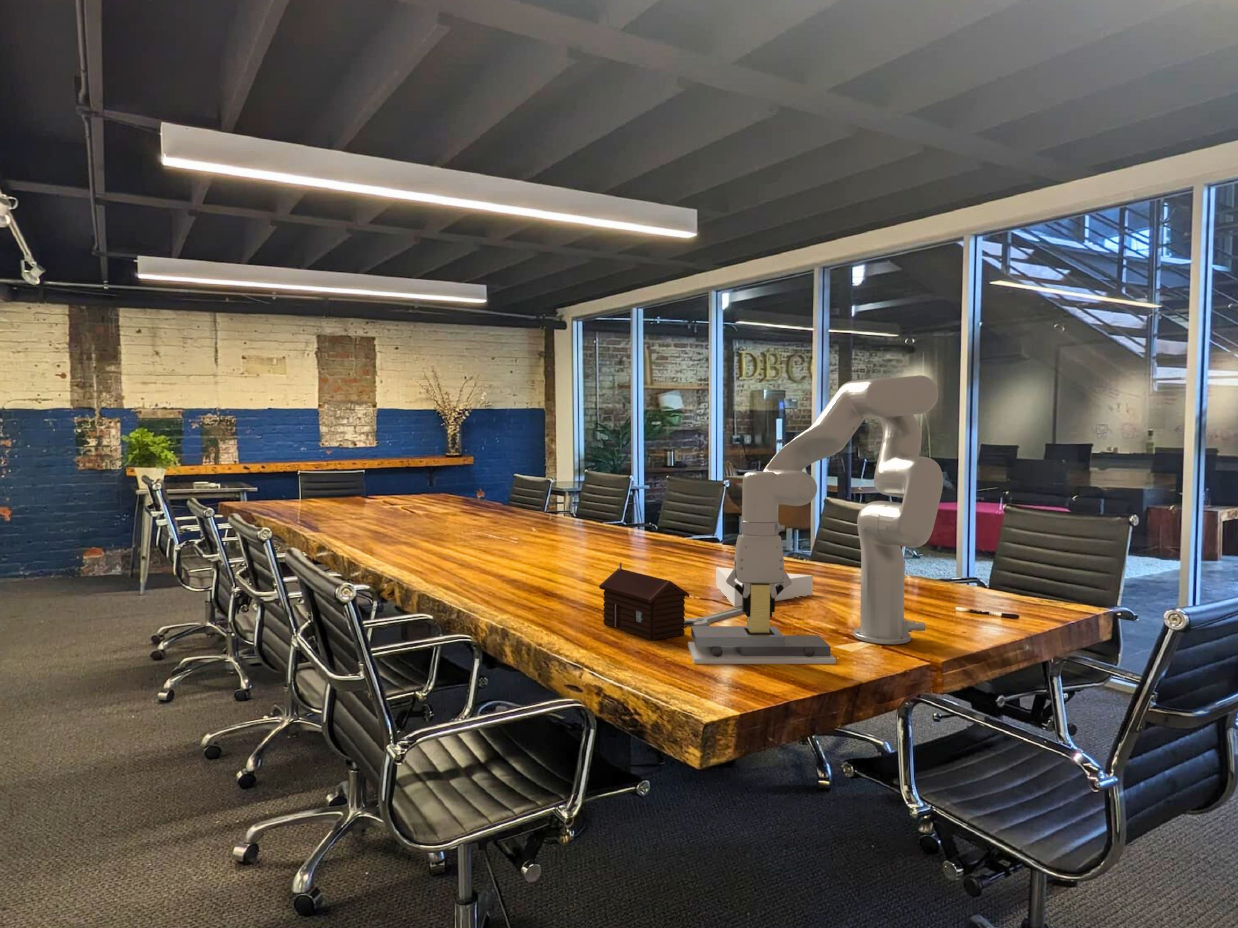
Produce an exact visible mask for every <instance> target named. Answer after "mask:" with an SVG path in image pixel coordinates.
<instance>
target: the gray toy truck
mask: <svg viewBox="0 0 1238 928" xmlns="http://www.w3.org/2000/svg"><path fill="white" fill-rule="evenodd" d="M690 627H691V628H690V636H691V638H692V642H694V644H695V646H696V647H710V648H711V650H712V653H713V655H714V656H716V657H719V656H721V655H722V649H721V647H736V648H737V650H738V651H739V653H740V655H741V656H808V657H811V656H831V655H832V654H831V648H832V647H831V646H830V645H829V643H827V641H826V640H824V638H823V637H822V636H820V635H817V634H811V635H809V634H805V635H804V634H801V635H800V634H796V635H795V634H791V635H790V634H783V633H782V632H781V631H780V629H779V628H778V627H777V626H776V625H775V626H774V625H772V626H771V625H769V633H750V631H749V630H748V629H747V625H744V626H743V625H729V626H728V625H724V626H723V625H716V626H715V625H709V626H690Z"/></svg>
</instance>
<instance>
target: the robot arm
mask: <svg viewBox="0 0 1238 928" xmlns="http://www.w3.org/2000/svg"><path fill="white" fill-rule="evenodd" d="M938 398H939V388H938V386H937V385H936V383H935V381H934V380H933V379H931V377H928V376H925V375H921V374H920V375H909V376H897V377H896V376H895V377H881V378H880V377H877V378H867V379H856V380H855V379H854V380H849V381H847V382H845V383H844V384H842V385H841V386H840V387H839V388H838V390H836V392H835V393H834V395H833V396H832V397H831V399H830V400H829V401H828V403H827V404H826V406H825V407H824V408H823V409H822V411H821V412H820V413H819V415H818V416H817V418H816V419H815V420H814V421H813V423H812V424H811V425H810V426H809V428H807V429H806V430H804V431H803V432H801V433H800V434H798V435H797V436H796V437H795V438H793V439H792V440H790V441H789V442H787V443H786V444H785V445H784V446H782V447H781V448H780V449H779V450H778V451H777V452H776V453H775V455H774V456H772V459H770V461H769V462H768V463H767V465H766V466H765V468H764V469H763V470H762V471H759V470H755V471H753V470H752V471H747V472H745V473H744V474H743V475H742V476H743V477H742V493H741V494H742V496H741V497H742V499H741V502H742V505H741V506H742V507H741V508H742V509H741V534H738V535H737V538H736V542H735V543H736V544H735V549H734V550H735V551H734V561H733V562H734V564H733V568H732V569H733V571H732V572H731V574H730V575H729V576H728V578H727V579H726V583H727V584H729V585H730V586H732V587H733V588H735V589H736V590H737V591H738V592H739V593H740V594H741V595H742V606H741V607H742V611H743V612H745V613H744V615H745V617H746V618H747V617H750V598H749V590H750V585H751V584H769V585H770V618H772V617H773V613H775V612H776V606H775V605H776V601H775V598H776V597H777V595H778V594H779V593H780V592H781V591H782V590H783V589H784V588H786V587H788V586H790V585H791V584H792V581H791V580H790V578H789V576H788V575H787V573H788V572H787V571H786V570H785V561H784V549H783V547H784V546H783V542H782V537H781V535H779V534H780V532H783V531H785V529H786V528H785V527H786V525H785V524H781V523H780V522H779V506H780V505H786V506H793V507H801V506H802V507H803V506H804V505H805V506H806V505H809V504H810V502H812V501H813V500H814V499H815V497H816V496H817V492H818V486H817V485H818V484H817V481H816V480H815V478H814V477H813V476H812V475H811V474H809V473H807V472H804V471H803V470H804V469H806V468H807V467H808V466H810V465H812V464H814V463H816V462H818V461H821V460H823V459H827V458H829V457H832V456H833V455H835V454H837V453H839V452H841V451H842V450H843V449H844V448H845V447H846V446H847V444H848V443H849V441H850V440H851V439H852V437H853V436H854V434H855V433H856V431H858V429H859V427H860V426H861V425H862V423H863V422H864V421H865V420H867V419H868V418H869V419H870V418H871V419H873V418H878V419H879V421H880V424H881V427H882V438H881V439H882V440H881V444H880V448H879V453H878V457H877V462H876V467H875V470H874V474H873V475H874V477H873V485H874V488H875V489H876V491H877V492H879V493H880V494H881V495H885V496H890V497H893V498H894V497H896V498H902V502H897V501H887V500H874V501H870V502H868V503H866V504H865V505H864V506H862V507H861V509H860V510H859V512H858V515H857V519H856V522H857V525H856V526H857V533H858V537H859V544H860V554H861V555H860V558H861V559H860V562H861V563H860V564H861V565H860V566H861V567H860V568H861V569H860V623H859V624H860V627H856V628H854V629H853V633H852V634H853V637H854V638H855V639H858V640H860V641H863V642H867V643H873V644H880V645H901V644H907V643H909V642H910V641H911V640H912V635H911V633H912V631H916V632H925V631H926V623H925V622H916V620H910V621H909V620H907V619H906V618H905V574H906V573H905V572H906V562H905V556H904V553H903V551H902V547H905V548H919V547H922V546H923V545H925V544H926V543H927V542H928V541H929V539H930V538H931V536H932V533H933V531H934V527H935V523H936V520H937V514H938V511H939V506H940V502H941V501H940V500H941V497H942V493H943V487H944V476H943V471H942V468H941V466H940V465H939V463H937V461H935V460H934V459H933V458H930V457H927V456H920V451H921V447H922V446H921V445H922V440H923V439H922V430H921V427H920V424H919V423H918V421H917V419H916V417H915V415H923V414H926V413H928V412H929V411H931V410H932V409H933V408H934V407H935V405H936V404H937V403H938V401H939V399H938ZM735 578H736V579H737V580H738V581H739V582H741V583H742V587H741V586H740V585H739V584H738V583H736V582H735ZM778 583H780V584H778ZM775 584H777V585H776V586H775Z"/></svg>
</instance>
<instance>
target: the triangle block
mask: <svg viewBox="0 0 1238 928" xmlns="http://www.w3.org/2000/svg"><path fill="white" fill-rule="evenodd" d="M733 569H734V568H730V567H719V566H717V567H715V571H716V572H715V586H716V587H717V588H718V590H719V589H720V590H721V591H720V590H719V591H720V592H721V593H722V595H724V597H725V596H726V597H727V598H726V597H725V598H726V599H727V600H728V602H729V603H730V604H731V603H732V604H731V605H732V606H733V608H738V607H742V595H741V594H740V593H739V592H738V591H737V590H736V589H735V588H733V587H732V586H730V585H729V584H727V583H726V579H727V578H728V576H729V575H730V574H731V572H732V571H733ZM786 573H787V575H788V576H789V578H790V580H791V581H792V584H791V585H790V586H788V587H786V588H784V589H783V590H782V591H781V592H780V593H779V594H778V595H777V597H776V598H775V602H776V601H777V602H778V601H783V600H790V599H795V598H794V597H797V598H800V597H799V596H803V597H808V596H807V595H810V596H813V595H814V594H813V593H814V591H813V590H814V589H813V587H814V585H813V584H814V583H813V582H814V576H813V575H810V574H801V573H799V574H798V573H789V572H786ZM735 582H736V583H738V584H739V585H740V586H741V587H742V583H741V582H739V581H738V580H737V579H736V578H735ZM778 584H780V583H778ZM776 585H777V584H775V586H776Z"/></svg>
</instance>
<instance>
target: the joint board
mask: <svg viewBox="0 0 1238 928" xmlns="http://www.w3.org/2000/svg"><path fill="white" fill-rule="evenodd" d="M687 648H688V650H689V653H690V657H691V659H692V662H693V665H726V664H727V665H734V664H735V665H768V664H769V665H775V664H776V665H791V664H793V665H804V664H805V665H812V664H813V665H817V664H818V665H825V664H826V665H829V664H830V665H833V664H834V665H836V664H837V661H836V660H837V659H836V658H835V656H833V654H831V656H811V657H808V656H741V655H740V653H739V651H738V650H737V648H736V647H721V649H722V655H721V656H719V657H716V656H714V655H713V653H712V650H711V648H710V647H696V646H695V644H694V641H688V642H687Z"/></svg>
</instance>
